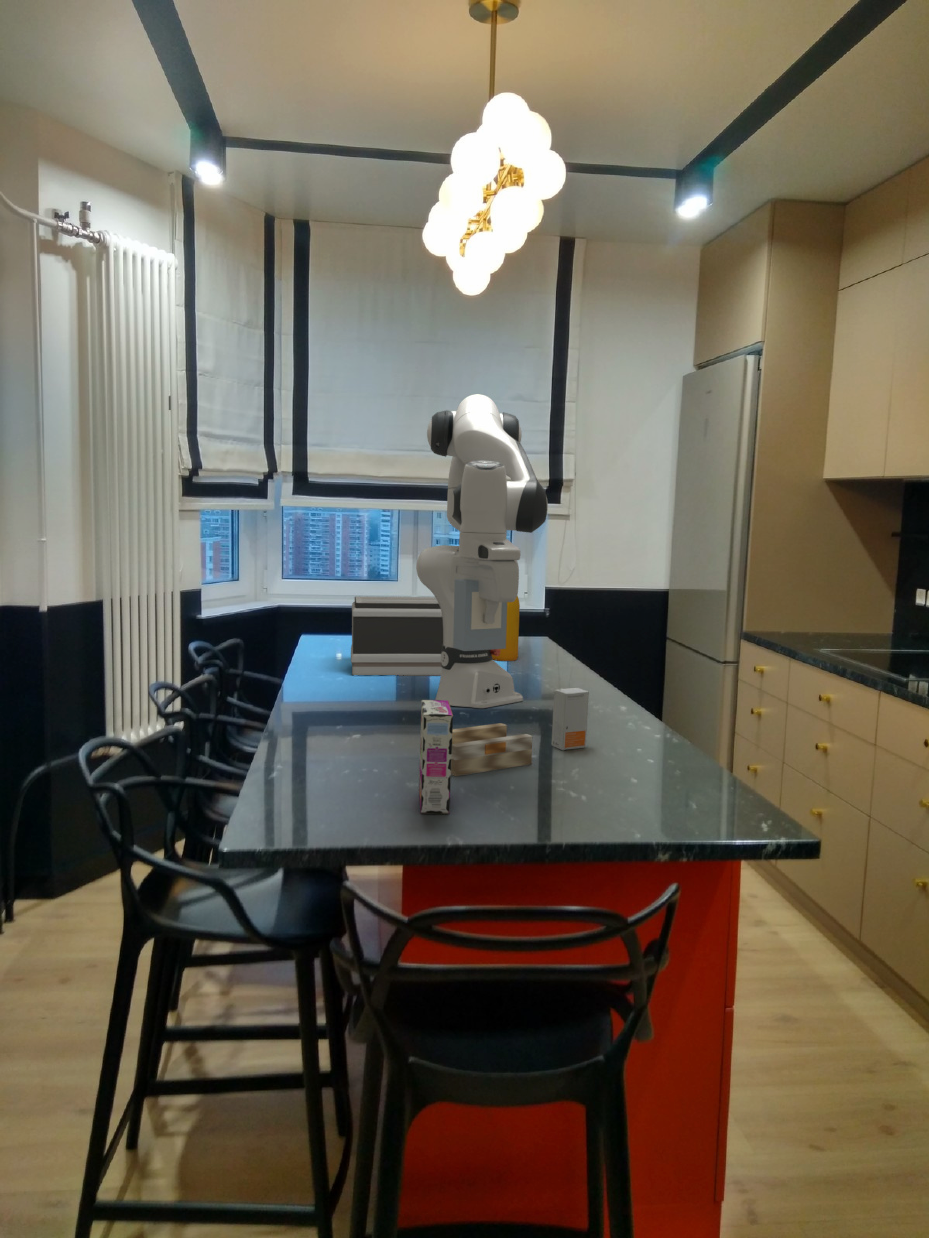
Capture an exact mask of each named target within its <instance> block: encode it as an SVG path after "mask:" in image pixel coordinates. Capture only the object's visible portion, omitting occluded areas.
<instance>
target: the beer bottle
mask: <svg viewBox="0 0 929 1238" xmlns="http://www.w3.org/2000/svg"><path fill="white" fill-rule="evenodd" d="M520 607H521V606H520V600H519V597H518V595H517V597H516V599H515V601H514V602H507V623H506V649H498V650H501V651H500V653H501V654H499V656H495V655H492V658H493V659H492V660H493V661H495V662H496V661H497V662H515V661H517V660H518V657H519V639H520V638H519V634H520V631H519V630H520Z"/></svg>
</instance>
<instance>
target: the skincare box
mask: <svg viewBox="0 0 929 1238" xmlns="http://www.w3.org/2000/svg"><path fill="white" fill-rule="evenodd" d="M553 694H554V695H553V707H552V708H553V710H552V713H553V714H552V731H551V746H552V747H555V748H556V749H559V750H561V751H565V750H576V749H585V748H586V746H587V732H588V731H587V730H588V729H587V727H588V713H589V712H588V710H589V696H590V692H589V691H588V690H585V689H582V688H580V687H574V688H571V687H570V688H568V687H567V688H561V689H554V693H553Z"/></svg>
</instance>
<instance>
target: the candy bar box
mask: <svg viewBox="0 0 929 1238" xmlns="http://www.w3.org/2000/svg"><path fill="white" fill-rule="evenodd" d="M420 713H421V714H420V739H419V741H420V742H419V743H420V744H419V770H418V771H419V772H418V773H419V774H418V775H419V776H418V797H419V805H420V807H419V809H420V814H423V815H424V814H425V815H427V814H431V815H432V814H433V815H434V814H436V815H444V814H446V815H447V814H450V812H451V811H450V806H451V805H450V804H451V784H452V781H451V780H452V779H451V778H452V774H451V758H452V731H453V729H454V727H453V726H454V724H453V723H454V715H453V714H454V713H453V711H452V709H451V705H450V704H449V701H446V700H435V699H422V700H421V711H420Z"/></svg>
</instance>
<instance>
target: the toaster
mask: <svg viewBox="0 0 929 1238" xmlns="http://www.w3.org/2000/svg"><path fill="white" fill-rule="evenodd" d="M351 626H352V627H351V646H350V662H351V667H352V668H351V670H352V671H351V672H352V673H351V674H352V676H353V675H396V676H395V677H428V676H429V677H434V676H435V677H441V670H442V667H441V646H442V644H443V618H442V612H441V608H440V605H439V603H438V601H437V599H436V597H435V596H434V597H433V596H427V597H426V596H354V601H353V602H352V604H351ZM397 675H399V676H397ZM403 675H404V676H403Z"/></svg>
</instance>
